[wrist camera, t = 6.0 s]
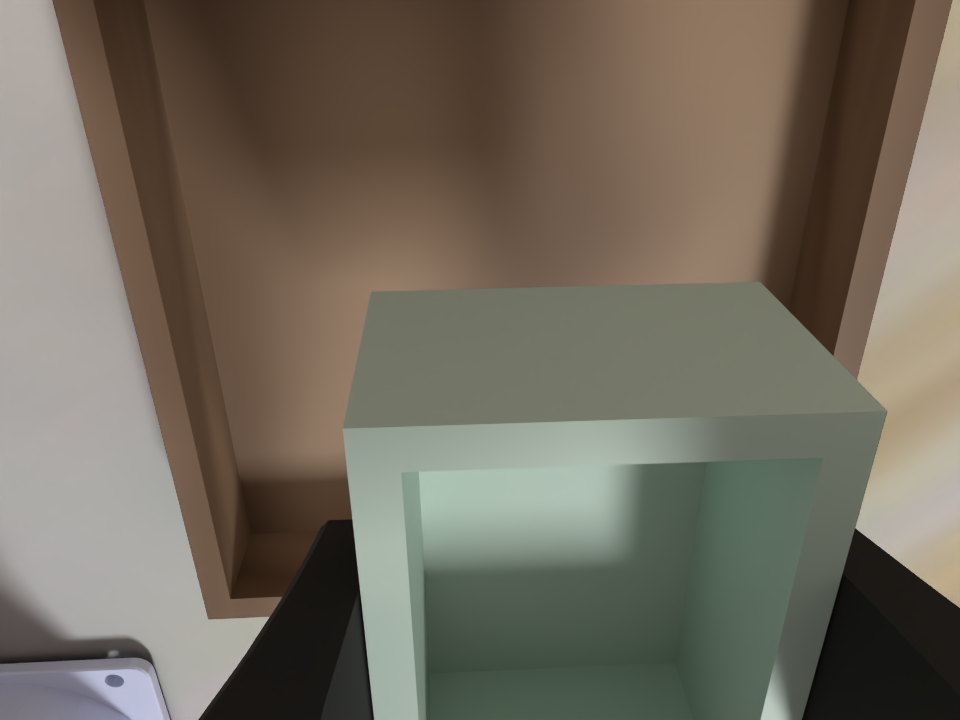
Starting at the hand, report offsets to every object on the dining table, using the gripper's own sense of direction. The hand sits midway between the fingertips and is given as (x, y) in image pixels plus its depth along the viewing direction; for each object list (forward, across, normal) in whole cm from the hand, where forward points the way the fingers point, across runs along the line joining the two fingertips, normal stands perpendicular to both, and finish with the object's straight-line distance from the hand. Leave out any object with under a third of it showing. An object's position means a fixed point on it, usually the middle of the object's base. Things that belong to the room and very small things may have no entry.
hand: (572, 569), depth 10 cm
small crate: (+2, 0, 0) cm, 2 cm away
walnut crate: (+8, 0, -1) cm, 8 cm away
